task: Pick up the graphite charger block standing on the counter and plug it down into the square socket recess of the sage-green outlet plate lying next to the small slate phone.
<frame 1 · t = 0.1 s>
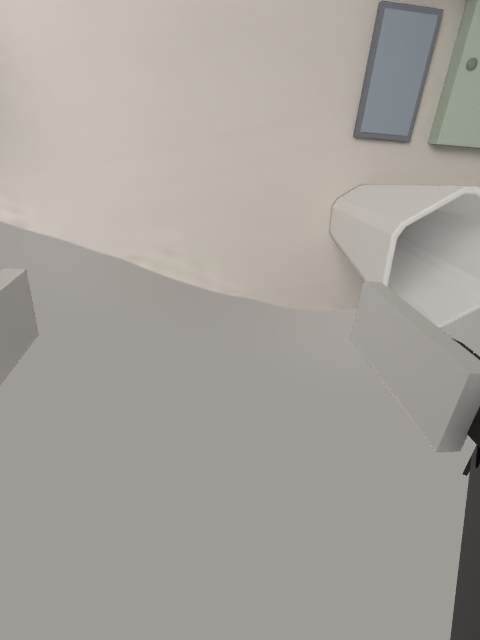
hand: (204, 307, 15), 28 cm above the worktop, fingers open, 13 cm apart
phone: (391, 78, 37), on the worktop
cup: (358, 217, 43), on the worktop
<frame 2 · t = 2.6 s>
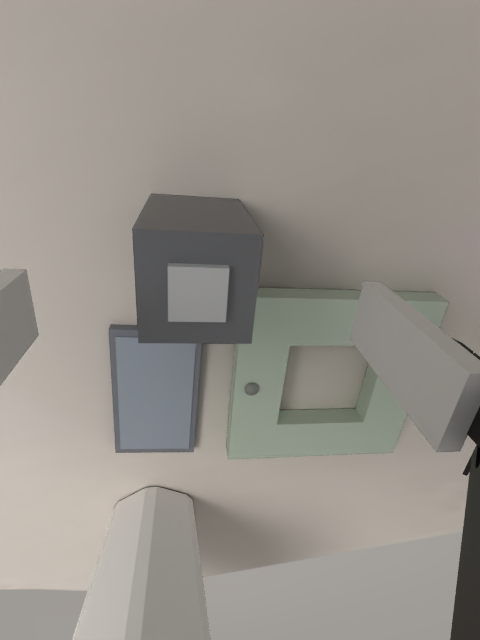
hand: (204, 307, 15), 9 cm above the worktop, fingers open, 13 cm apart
charger: (194, 239, 22), on the worktop
phone: (157, 387, 28), on the worktop
cup: (155, 511, 34), on the worktop
outlet plate: (322, 374, 28), on the worktop
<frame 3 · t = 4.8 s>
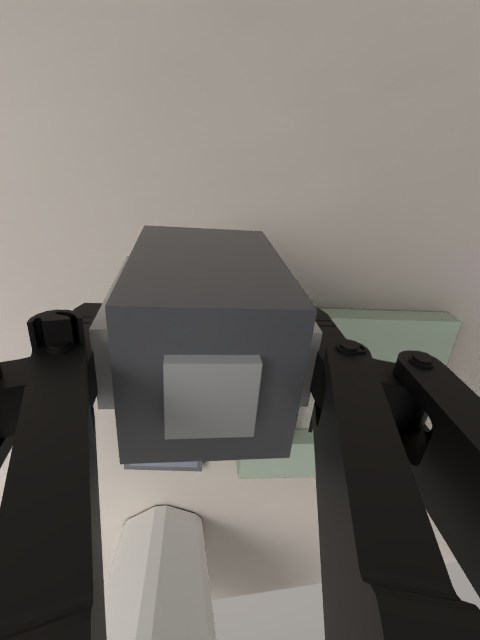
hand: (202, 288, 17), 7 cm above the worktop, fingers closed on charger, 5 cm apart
charger: (202, 283, 17), point 6 cm above the worktop, touching gripper
phone: (168, 404, 28), on the worktop
cup: (164, 530, 33), on the worktop
outlet plate: (334, 393, 28), on the worktop
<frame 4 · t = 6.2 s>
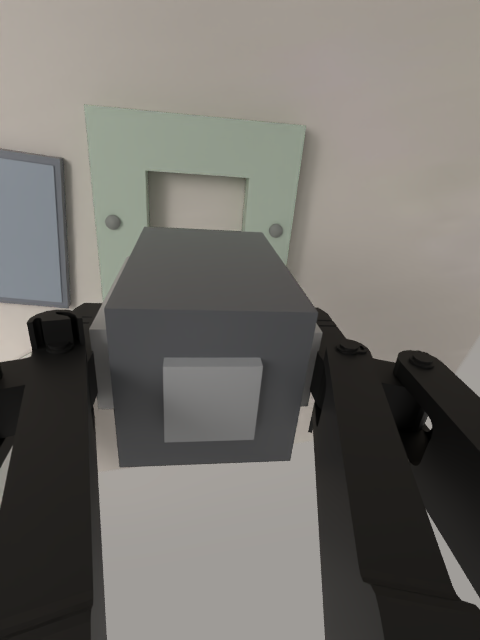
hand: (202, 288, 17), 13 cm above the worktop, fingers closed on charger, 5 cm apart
charger: (202, 284, 17), point 13 cm above the worktop, touching gripper
phone: (26, 230, 27), on the worktop
outlet plate: (196, 221, 28), on the worktop
when the fingers open (2 cm above the worktop, at t = 7.7 s): charger drops 2 cm, resting in outlet plate.
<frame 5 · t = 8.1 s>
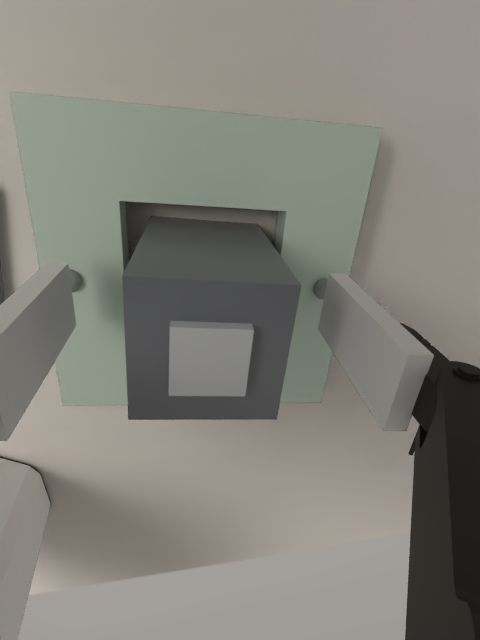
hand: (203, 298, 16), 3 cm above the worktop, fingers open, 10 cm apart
charger: (202, 270, 18), resting in outlet plate
outlet plate: (201, 272, 18), on the worktop
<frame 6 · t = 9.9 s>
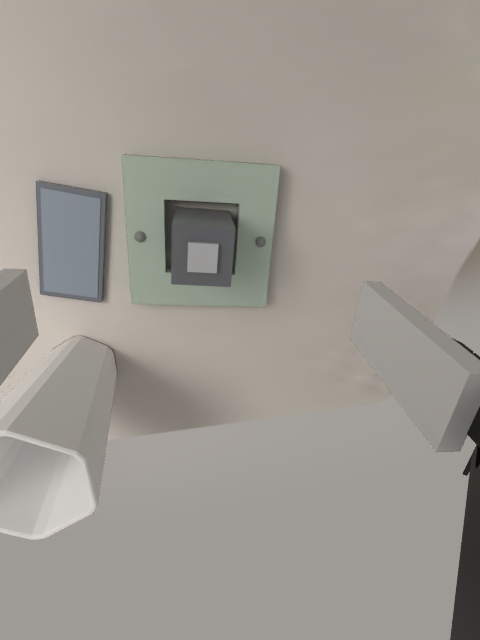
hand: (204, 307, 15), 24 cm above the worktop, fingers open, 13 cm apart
charger: (201, 234, 37), resting in outlet plate
phone: (75, 243, 37), on the worktop
cup: (85, 363, 42), on the worktop
outlet plate: (201, 235, 37), on the worktop
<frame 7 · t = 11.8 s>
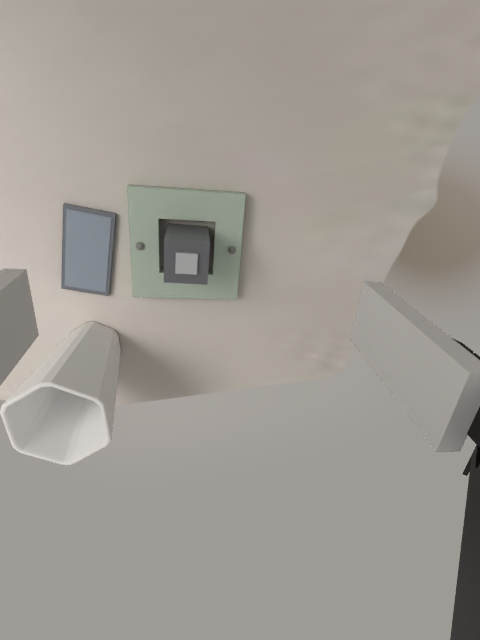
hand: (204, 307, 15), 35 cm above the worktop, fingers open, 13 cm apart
charger: (187, 243, 49), resting in outlet plate
phone: (89, 250, 48), on the worktop
cup: (95, 343, 54), on the worktop
outlet plate: (186, 244, 48), on the worktop
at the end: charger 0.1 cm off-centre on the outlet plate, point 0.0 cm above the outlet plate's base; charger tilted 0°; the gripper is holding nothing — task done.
